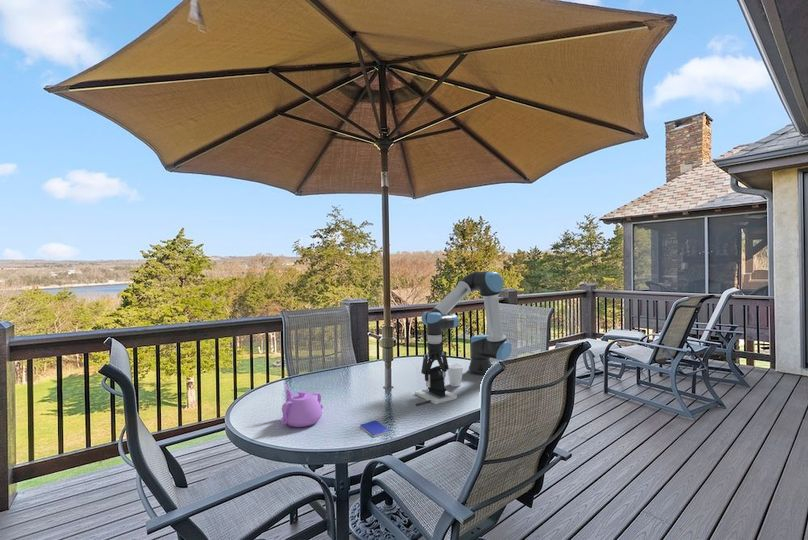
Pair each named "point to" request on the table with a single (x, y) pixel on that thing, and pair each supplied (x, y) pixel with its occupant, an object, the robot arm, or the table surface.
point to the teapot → (301, 409)
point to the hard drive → (375, 428)
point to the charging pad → (434, 397)
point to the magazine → (437, 381)
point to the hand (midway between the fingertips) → (435, 385)
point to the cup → (455, 374)
